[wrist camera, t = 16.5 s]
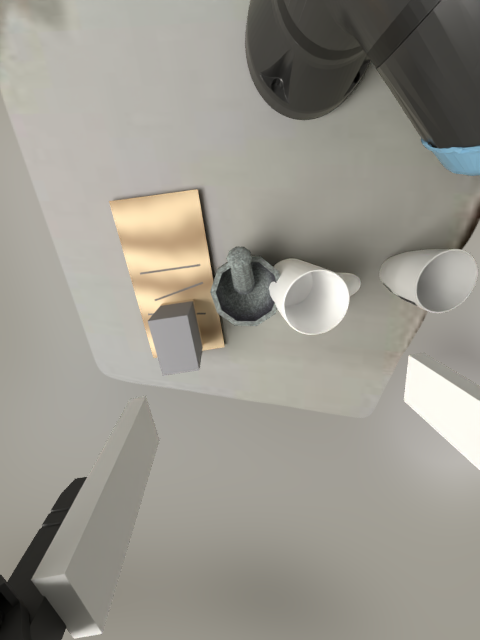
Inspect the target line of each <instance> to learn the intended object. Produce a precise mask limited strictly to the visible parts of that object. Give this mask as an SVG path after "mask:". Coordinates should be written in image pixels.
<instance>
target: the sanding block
mask: <svg viewBox="0 0 480 640" xmlns="http://www.w3.org/2000/svg"><path fill="white" fill-rule="evenodd" d="M148 325H149V328H150V332H151V335H152V339H153V343H154V346H155V350H156V353H157V357H158V361H159V364H160V368H161V371H162V375H163V376H164V375H171V374H177V373H184V372H190V371H197V370H199V368H200V362H201V355H202V349H203V342H202V337H201V332H200V327H199V322H198V317H197V313H196V308H195V303H194V299H191V300H184V301H177V302H170V303H163V304H161V305H160V307H159V308H158V309H157V310H156V311H155V313H154V314H153V315H152V316H151V318H150V319H149V320H148Z"/></svg>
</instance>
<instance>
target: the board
mask: <svg viewBox="0 0 480 640" xmlns="http://www.w3.org/2000/svg"><path fill="white" fill-rule="evenodd" d="M109 203H110V206H111V210H112V213H113V217H114V220H115V224H116V227H117V231H118V234H119V238H120V241H121V245H122V249H123V252H124V256H125V259H126V263H127V266H128V270H129V273H130V277H131V280H132V284H133V287H134V291H135V294H136V298H137V301H138V305H139V308H140V312H141V315H142V319H143V322H144V326H145V329H146V333H147V337H148V340H149V344H150V347H151V351H152V354H153V358H157V353H156V350H155V346H154V343H153V339H152V335H151V332H150V328H149V325H148V320H149V319H150V318H151V316H152V315H153V314H154V313H155V311H156V310H157V309H158V308H159V307H160V305H161V304H163V303H170V302H177V301H184V300H191V299H194V303H195V308H196V313H197V317H198V322H199V327H200V332H201V337H202V342H203V349H202V351H203V350H210V349H216V348H223V347H224V339H223V333H222V328H221V322H220V316H219V314H218V313H217V311H216V308H215V305H214V302H213V299H212V296H211V293H210V291H211V287H212V284H213V275H212V269H211V263H210V257H209V251H208V245H207V239H206V233H205V228H204V222H203V216H202V210H201V204H200V198H199V192H198V189H196V190H189V191H181V192H174V193H167V194H159V195H152V196H145V197H137V198H130V199H123V200H115V201H109Z"/></svg>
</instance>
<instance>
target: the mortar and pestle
mask: <svg viewBox="0 0 480 640" xmlns="http://www.w3.org/2000/svg"><path fill="white" fill-rule="evenodd" d="M227 261H228V262H226V263H225V264H224V265H222V266H221V267H219V268H218V269H217V272H216V275H215V278H214V281H213V284H212V287H211V291H210V293H211V296H212V299H213V302H214V305H215V308H216V311H217V313H218V314H219V315H221V316H222V317H223V318H225V319H226V320H228V321H229V322H231V323H232V324H233V325H235V326H257V325H259V324H260V323H262V322H263V321H265V320H267V319H268V318H270V317H271V316H273V315H274V314H275V313H276V311H277V307H276V305H275V302H274V301H273V299H272V298H271V296H270V291H269V286H270V284H271V282H275V283H277V281H278V279H279V278H280V274H279V271H277V270H276V269H275V268H274V267H273V266H271V265H270V264H269V263H268V262H267V261H265V260H264V259H263V258H262V257H260V256H251V253H250V251H249V250H247V249H246V248H245V247H235V248H233V249H232V250H230V251H229V254H228V256H227Z"/></svg>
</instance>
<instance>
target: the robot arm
mask: <svg viewBox="0 0 480 640" xmlns="http://www.w3.org/2000/svg"><path fill="white" fill-rule="evenodd" d="M245 48H246V58H247V63H248V67H249V71H250V74H251V77H252V80H253V82H254V84H255V86H256V88H257V90H258V92H259V93H260V95H261V96H262V98H263V99H264V100H265V101H266V102H267V103H268V104H269V105H270V106H271V107H272V108H273V109H274V110H276V111H277V112H279V113H280V114H282V115H284V116H287V117H289V118H293V119H298V120H309V119H314V118H318V117H321V116H323V115H325V114H327V113H329V112H331V111H332V110H334V109H335V108H336V107H337V106H339V105H340V104H341V103H342V102H343V101H344V100H345V99H346V97H347V96H348V95H349V94H350V93H351V92H352V91H353V90H354V88H355V87H356V86H357V84H358V83H359V81H360V80H361V78H362V77H363V75H364V73H365V71H366V69H367V67H368V65H369V63H370V60H371V61H372V63H373V64H374V66H375V67H376V69H377V71H378V72H379V74H380V75H381V77H382V78H383V80H384V81H385V83H386V84H387V86H388V87H389V89H390V90H391V92H392V93H393V95H394V96H395V98H396V100H397V101H398V103H399V104H400V106H401V107H402V109H403V110H404V112H405V113H406V115H407V116H408V118H409V119H410V121H411V123H412V124H413V126H414V127H415V129H416V130H417V132H418V133H419V135H420V136H421V142H422V144H423V145H424V146H425V147H426V148H427V149H428V150H431V151H432V152H433V153H434V154H435V156H436V157H437V158H438V159H439V161H440V162H441V163H442V165H443V166H444V167H445V168H446V169H448V170H449V171H451V172H453V173H456V174H466V175H470V176H475V175H480V0H251V1H250V5H249V10H248V17H247V25H246V36H245ZM404 401H405V402H406V403H407V404H408V405H409V406H410V407H411V408H412V409H414V410H415V411H416V412H417V413H418V414H419V415H420V416H421V417H422V418H423V419H424V420H425V421H427V422H428V423H429V424H430V425H431V426H432V427H433V428H434V429H435V430H436V431H437V432H438V433H440V434H441V435H442V436H443V437H444V438H445V439H446V440H447V441H448V442H449V443H451V444H452V445H453V446H454V447H455V448H456V449H457V450H458V451H459V452H461V454H462V455H464V456H465V457H466V458H467V459H468V460H469V461H470V462H471V463H472V464H473V465H474V466H476V467H477V468H478V469H479V470H480V386H479V385H477V384H476V383H474V382H472V381H471V380H469V379H467V378H465V377H464V376H462V375H460V374H459V373H457V372H455V371H454V370H452V369H450V368H449V367H447V366H445V365H444V364H442V363H440V362H439V361H437V360H435V359H433V358H432V357H430V356H428V355H426V354H425V353H420V354H413V355H409V359H408V368H407V377H406V386H405V395H404ZM158 443H159V437H158V434H157V430H156V427H155V424H154V421H153V418H152V414H151V411H150V408H149V405H148V402H147V398H146V396H145V397H138V398H131V399H130V400H129V401H128V403H127V405H126V407H125V409H124V411H123V413H122V414H121V416H120V418H119V420H118V422H117V423H116V425H115V427H114V429H113V431H112V433H111V434H110V436H109V438H108V440H107V442H106V444H105V446H104V447H103V449H102V451H101V453H100V455H99V457H98V458H97V460H96V462H95V464H94V466H93V467H92V469H91V471H90V473H89V475H88V477H84V478H77V479H75V480H74V481H73V482H72V483H71V484H70V485H69V486H68V487H67V488H66V489H65V490H64V492H62V493H61V495H60V496H59V498H58V500H57V501H56V503H55V505H54V506H53V508H52V510H51V513H50V514H49V515H48V516H47V518H46V520H45V521H44V523H43V524H42V528H41V529H39V531H38V533H37V534H36V536H35V537H34V539H33V541H32V542H31V544H30V546H29V547H28V549H27V551H26V552H25V554H24V555H23V557H22V559H21V560H20V562H19V564H18V565H17V567H16V569H15V570H14V572H13V573H12V575H11V577H10V578H9V580H8V582H6V580H5V579H4V578H3V577H2V575H0V640H61V639H62V637H63V634H64V632H65V629H67V630H68V631H69V633H70V634H71V635H72V637H73V638H80V637H85V636H92V635H97V634H102V633H103V630H104V626H105V623H106V619H107V616H108V612H109V609H110V606H111V603H112V599H113V596H114V592H115V589H116V586H117V582H118V579H119V576H120V572H121V569H122V565H123V562H124V559H125V555H126V552H127V548H128V545H129V542H130V538H131V535H132V531H133V528H134V525H135V521H136V518H137V515H138V511H139V508H140V504H141V501H142V497H143V494H144V490H145V487H146V484H147V481H148V477H149V474H150V470H151V467H152V464H153V460H154V457H155V453H156V450H157V447H158Z"/></svg>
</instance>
